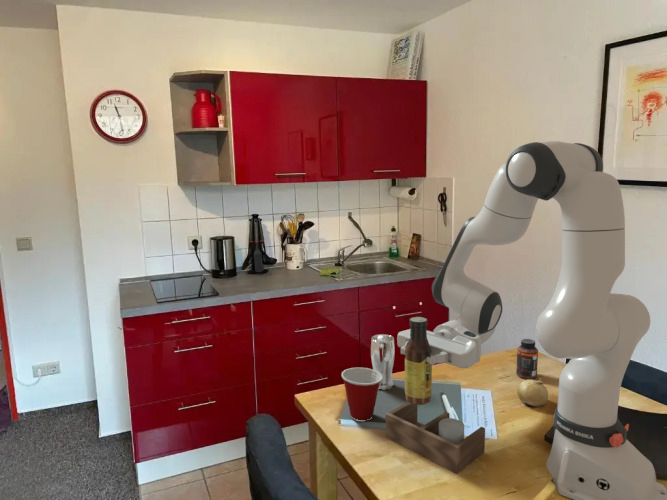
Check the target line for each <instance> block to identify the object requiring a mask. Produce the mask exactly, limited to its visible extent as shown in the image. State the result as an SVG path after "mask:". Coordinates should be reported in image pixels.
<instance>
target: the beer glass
mask: <svg viewBox="0 0 667 500" xmlns="http://www.w3.org/2000/svg"><path fill="white" fill-rule="evenodd" d="M370 340H371V342H370V343H371V344H370V358H371V364H372V369H373V370H375V371H378V372H379V373H380V374H382V377H383V379H382V380H381V382H380V385H379V388H378V389H382V390H381V391H387V390H386V389H388V390H390V389H389V388H391V387H392V386H393V387H394V382H393V375H392V374H393V367H394V361H395V338H394V336H392V335H389V334H384V333H382V334H381V333H380V334H375V335H373V336H371V339H370ZM393 387H392V388H393ZM392 388H391V389H392ZM384 389H385V390H384Z"/></svg>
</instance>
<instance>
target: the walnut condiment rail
mask: <svg viewBox="0 0 667 500" xmlns="http://www.w3.org/2000/svg"><path fill="white" fill-rule="evenodd" d="M418 407H419V405H416V404H412V403H409V402H408V401H407V402H405V403H403V404H401V405H400V406H398V407H396V408H393V409H392V410H390V411H389V412H387V413H386V414H385V438H387V439H389V440H390V441H392V442H395V443H396V444H398V445H400V446H402V447H404V448H406V449H408V450H410V451H412V452H413V453H416V454H417V455H419V456H421V457H423V458H425V459H427V460H429V461H431V462H433V463H435V464H437V466H438V465H439V466H441V467H443V468H444V469H446V470H448V471H451V472H452V473H454V474H456V475H458V474H459V473H460V472H462V471H463V470H464V469H466V468H467V467H468V466H469V465H471V464H472V463H473V462H474V461H476V460H477V459H478V458H480V457H481V456H482V455H483V454H484V453H485V450H486V449H485V446H486V428H485V427H483V426H480V427H478V429H476V430H474V431H473V432H472V433H470V434H469V435H467V436H466V437H464V439H463V440H462V441H460V442H459V443H458V444H454V443H452V442H450V441H448V440H446V439H444V438H442V437H439V422H440V421H441V420H442V419H446V418H450V412H448V411H445V412H443V413H441V414H440V415H438V416H436V417H435V418H433V419H432V420H430V421H429V422H427V423H425V424H424V423H421V422H419V421H418Z"/></svg>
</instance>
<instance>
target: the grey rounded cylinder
mask: <svg viewBox="0 0 667 500" xmlns="http://www.w3.org/2000/svg"><path fill="white" fill-rule="evenodd" d="M439 437H442V438H444V439H446V440H448V441H450V442H452V443H454V444H458V443H459V442H460V441H462V440H463V439H465V424H464V422H463V421H461V420H460V419H456V418H450V417H449V418H446V419H442V420H441V421H440V422H439Z"/></svg>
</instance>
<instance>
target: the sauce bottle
mask: <svg viewBox="0 0 667 500" xmlns="http://www.w3.org/2000/svg"><path fill="white" fill-rule="evenodd" d="M409 326H410V328H409V329H410V337H411V338H410V339H409V341H408V342H407V344H406V348H405V355H404V356H405V357H404V393H405V394H404V395H405V400H406V401H407V402H409V403H412V404H416V405H418V406H419V405H421V406H422V405H425V404H428V403H430V402H431V399H432V387H433V386H432V385H433V384H432V378H433V377H432V376H433V374H432V372H433V368H432V367H433V365H431V364H429V363H427V356H428V355H430V354H432V351H431V348H430V346H429V343H428V340H427V331H428V330H427V327H428V319H427V318H425V317H422V316H415V317H411V318H409Z"/></svg>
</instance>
